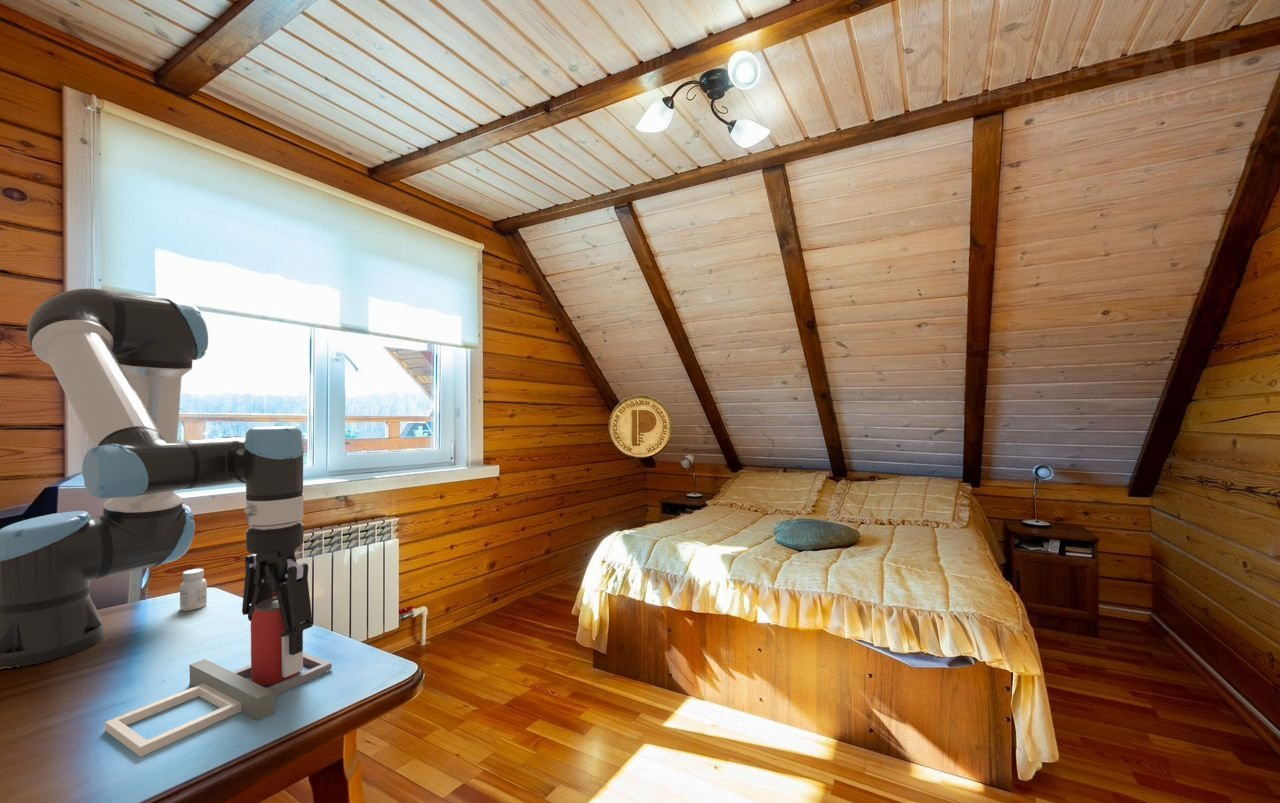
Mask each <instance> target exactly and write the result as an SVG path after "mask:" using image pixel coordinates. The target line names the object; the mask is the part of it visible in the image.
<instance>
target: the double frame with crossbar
mask: <svg viewBox="0 0 1280 803" xmlns="http://www.w3.org/2000/svg"><path fill="white" fill-rule="evenodd" d="M332 664H333V663H332V662H330V661H327V660H325V659H323V658H319V657H317V656H314V655H312V654H309V653H307V652H305V651H303V666H304V665H305V666H307V667H309V668H310V669H307V670H306V671H303V672H301V673H298V675H296V676H294V677H291V678H289V679H287V680H285V681H282V682H280V683H278V684H275V685H273V686H268V687H263V686H261V685H258V684H256V683H254V682H252V681H251V680H250V679H248V678H247V677H249V676H250V677H251V664H249V665H247V666H244V667H242V668H240V669H237V670H234V671H231V670H229V669H227V668H225V667H222V666H221V665H218V664H216V663H214V662H212V661H210V660H208V659H205V658H204V659H201V660H198V661H195V662H192V663H190V664H189V685H192V686H193V687H191V688H188V689H186V690H183V691H181V692H178V693H175V694H173V695H170V696H168V697H165V698H162V699H160V700H157V701H155V702H152V703H150V704H147V705H145V706H142V707H140V708H139V707H138V708H137V709H134V710H132V711H129V712H127V713H124V714H122V715H120V716H117V717H113V718H112V719H109V720H106V721H104V723H105V725H104V726H105V727H104V730H105V732H107V733H108V734H109V735H111V736H112V737H113V738H114V739H116V740H117V741H118V742H119V743H121V744H122V745H124V746H125V747H126V748H128V749H129V750H130V751H132V753H133V752H134V754H136V755H137V756H138V757H140V758H141V757H143V756H146V755H148V754H150V753H153V752H154V751H157V750H159V749H161V748H164V747H165V746H168V745H170V744H172V743H174V742H177V741H179V740H181V739H183V738H186V737H188V736H190V735H192V734H194V733H196V732H199V731H201V730H203V729H205V728H208V727H210V726H212V725H214V724H216V723H218V722H221V721H223V720H225V719H229V717H231V716H235V715H236V714H238V713H240V712H241V713H244V714H245V715H247V716H249V717H251V718H253V719H255V720H257V721H260V720H262V719H264V718H266V717H268V716H270V715H272V714H275V710H274V709H275V707H274V704H275V703H274V702H275V700H274V699H275V697H276V696H278V695H280V694H282V693H284V692H287V691H289V690H292V689H294V688H296V687H298V686H300V685H302V684H303V685H304V683H307V682H308V681H311V680H314V679H316V678H319V677H320V676H322V675H324V674H323V673H325V672H327V671H329V670H330V669H332V667H333V666H332ZM329 672H330V671H329ZM327 673H328V672H327ZM325 674H326V673H325ZM197 697H199V698H201V699H203V700H205V701H207V702H209V703H211V704H213V705H214V706H216V707H218V709H216V710H214V711H211V712H209V713H207V714H205V715H202V716H200V717H198V718H195V719H194V720H193V719H192V720H190V721H188V722H186V723H184V724H182V725H179V726H177V727H174V728H172V729H170V730H168V731H165V732H164V733H161V734H159V735H156V736H154V737H152V738H149V739H146V738H144V737H143V736H141V735H140V734H139V733H138V732H136V731H135V730H133V729H132V728H131V727H129V725H132V724H134V723H137V722H138V721H141V720H144V719H146V718H149V717H150V716H151V717H152V716H153V715H156V714H158V713H161V712H163V711H165V710H169V709H171V708H173V707H176V706H178V705H180V704H183V703H186V702H188V701H191V700H192V699H193V700H194V699H195V698H197Z"/></svg>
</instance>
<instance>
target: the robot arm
mask: <svg viewBox="0 0 1280 803" xmlns="http://www.w3.org/2000/svg"><path fill="white" fill-rule="evenodd" d="M26 328H27V329H26V333H27V336H26V337H27V341H28V343H29V345H30V347H31V350H32V351H33V353H34V355H35V356H36V357H37V358H38V359H39V360H40V361H42V362H43V363H45V364H48V365H50V367H51V369H52V371H53V373H54V375H55V377H56V378H57V380H58V382H59V384H60V386H61V388H62V390H63V392H64V394H65V395H66V397H67V399H68V401H69V404H70V405H71V407H72V409H73V411H74V413H75V416H77V419H78V420H79V422H80V424H81V425H82V428H83V430H84V432H85V434H86V435H87V437H88V440H89V441H90V444H91V445H92V447H91V448H89V449H88V450H87V451H86V453H85V454H84V456H83V457H84V458H83V459H82V467H81V468H82V469H81V470H82V471H81V473H82V477H83V480H84V481H83V484H84V487H85V489H86V491H87V492H88V493H89V494H90V495H91V496H92V497H94V498H97V499H108V500H106V501H105V502H104V503H103V512H102V514H101V515H98V516H97V515H96V516H91V515H90V513H89V512H88V511H85V510H70V511H65V512H56V513H51V514H45V515H42V516H41V515H40V516H37V517H31V518H28V519H23V520H21V521H18V522H14V523H11V524H9V525H6V526H4V527H2V528H0V668H1V667H17V666H23V667H26V666H25V665H29V666H32V665H31V664H34V665H37V664H43V663H46V662H49V661H53V660H56V659H60V658H63V657H67V656H70V655H72V654H74V653H77V652H81V651H83V650H85V649H88V648H89V647H91V646H93V645H96V644H97V643H98V642H100V641H101V640H102V639H103V638H104V633H105V632H104V629H105V628H104V621H103V620H102V618H101V616H100V614H99V612H98V610H97V608H96V606H95V603H94V602H93V600H92V599H91V592H90V591H91V586H90V585H91V581H94V580H99V579H103V578H107V577H112V576H115V575H116V576H117V575H120V574H125V573H129V572H134V571H139V570H143V569H145V570H146V569H149V568H150V569H151V568H157V567H160V566H161V565H165V564H169V563H172V562H175V561H177V560H179V559H181V558H182V557H183V556H184V555H185V554H187V552H188V551H189V548H190V547H191V545H192V543H193V540H194V535H195V530H196V522H195V520H194V517H195V516H194V512H193V510H192V508H191V507H190V506H188V505H187V504H184V502H183V501H184V500H183V498H182V497H181V496H180V495H178V494H177V493H176V492H175V491H180V490H187V489H188V490H191V489H198V488H205V487H207V488H208V487H214V486H215V487H216V486H224V485H231V484H244V485H245V494H246V495H245V500H246V507H245V508H244V509H243V513H245V514H246V524H247V525H248V526H249V527H248V528H247V530H246V531H245V532H246V533H245V534H246V535H245V536H246V541H245V542H246V544H245V545H246V546H245V547H246V551H247V552H248V553H249V555H246V556H245V557H244V565H245V576H244V587H243V598H242V607H241V613H242V615H243V616H246V615H247V619H248V621H249V622H251V619H252V615H253V613H254V611H255V606H256V605H257V604H258V603H260V602H262V601H264V600H267V599H271V598H274V597H273V596H274V593H275V594H276V597H277V599H278V603H279V607H280V611H281V616H282V620H283V624H284V628H285V632H283V633H281V634H280V635H281V636H282V677H284V678H285V677H287V676H290V675H292V674H294V673H297V672H299V671H300V672H301V671H303V670H304V664H303V652H304V634H303V632H304V630H308V629H310V628H312V627H313V616H312V606H311V597H310V589H309V581H308V580H309V579H308V577H309V565H308V563H307V562H304V563H298V562H297V557H296V553H295V551H296V550H297V549H298V548H299V547H301V546H302V545H303V544H304V539H305V538H304V534H305V533H304V523H303V522H302V520H303V519H304V517H305V516H304V452H305V448H304V446H303V432H302V430H301V429H300V428H299V427H297V426H292V425H291V426H290V425H289V426H288V425H287V426H284V425H283V426H281V425H280V426H278V425H277V426H274V425H273V426H257V427H251V428H249V429H247V431H246V433H245V437H243V436H241V435H240V436H238V435H235V436H234V435H233V436H222V437H217V438H209V439H207V438H206V439H193V440H190V439H189V440H178V437H179V436H178V434H179V420H180V418H179V417H180V407H181V406H180V405H181V404H180V403H181V391H182V377H183V376H184V375H185V374H187V373H189V372H190V371H191V370H192V369H193V361H196V360H201V359H202V358H203V357H205V355H206V351H207V350H208V346H209V335H208V334H209V331H208V327H207V323H206V321H205V319H204V316H203V315H202V313H201V312H200V310H199V309H198V307H196V306H195V305H193V304H192V303H191V302H188V301H185V300H179V299H175V298H168V297H166V296H163V297H161V296H152V295H145V294H144V295H143V294H137V293H129V292H121V291H113V290H105V289H100V288H77V289H71V290H67V291H63V292H61V293H58V294H56V295H54V296H51V297H50V298H48V299H47V300H45V301H44V302H42V303H41V304H40V305H39V306H38V307H37V308H36V309H35V310H34V311H33V312H32V314H31V316H30V318H29V320H28V321H27V327H26ZM17 668H18V667H17ZM300 672H299V673H300Z"/></svg>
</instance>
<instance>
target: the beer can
mask: <svg viewBox="0 0 1280 803" xmlns="http://www.w3.org/2000/svg"><path fill="white" fill-rule="evenodd" d="M283 632H285V628H284V624H283V620H282V616H281V611H280V607H279V603H278V599H277V596H276V597H272V598H271V599H267V600H264V601H262V602H260V603H258V604H257V605H256V606H255V611H254V613H253V615H252V619H251V621H250V665H251V675H250V679H251V680H250V681H252V682H254V683H256V684H258V685H261V686H263V687H265V688H268V687H271V686H273V685H275V684H278V683H280V682H282V681H285V680H287V679H289V678H291V677H294V676H296V675H298V674H300V672H301V671H299V672H297V673H294V674H292V675H290V676H287V677H285V678H284V677H282V636H281V635H280V634H281V633H283Z"/></svg>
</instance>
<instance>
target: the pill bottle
mask: <svg viewBox="0 0 1280 803" xmlns="http://www.w3.org/2000/svg"><path fill="white" fill-rule="evenodd" d="M204 576H205V570H204V568H193V569H188V570H185V571H183V572H182V580H183V581H182V582H181V583H180V584H179V609H180V610H181V611H184V612H185V611H187V612H188V611H194V610H199V609H201V608H203V607H206V606H207V604H208V597H207V596H208V594H207V593H208V591H207V590H208V589H207V587H208V586H207V584H208V583H207V580H206V579H205V578H204Z"/></svg>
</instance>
